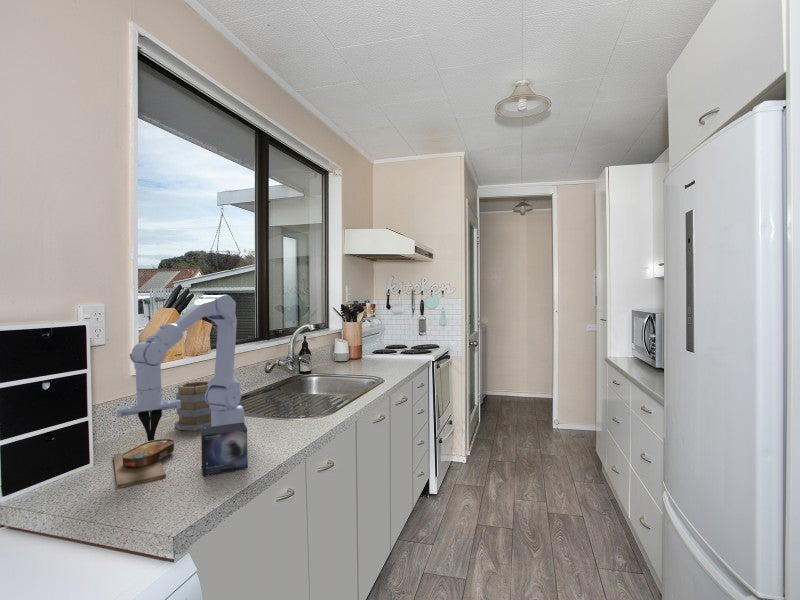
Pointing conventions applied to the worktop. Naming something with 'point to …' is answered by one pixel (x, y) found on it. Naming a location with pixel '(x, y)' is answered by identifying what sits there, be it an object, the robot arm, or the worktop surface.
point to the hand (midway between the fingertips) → (150, 439)
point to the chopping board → (136, 472)
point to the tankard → (193, 406)
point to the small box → (224, 448)
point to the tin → (148, 453)
